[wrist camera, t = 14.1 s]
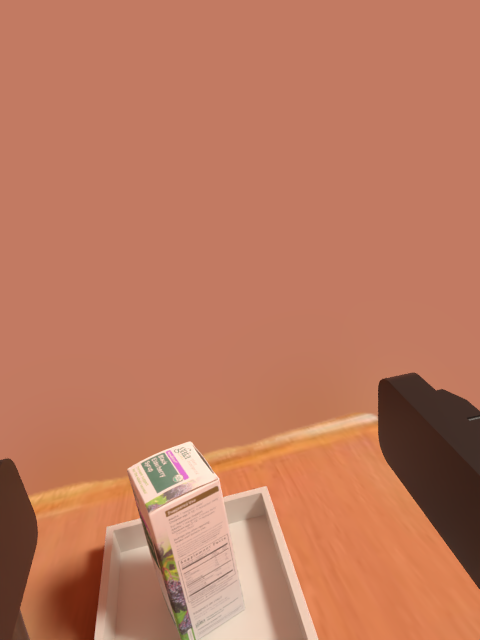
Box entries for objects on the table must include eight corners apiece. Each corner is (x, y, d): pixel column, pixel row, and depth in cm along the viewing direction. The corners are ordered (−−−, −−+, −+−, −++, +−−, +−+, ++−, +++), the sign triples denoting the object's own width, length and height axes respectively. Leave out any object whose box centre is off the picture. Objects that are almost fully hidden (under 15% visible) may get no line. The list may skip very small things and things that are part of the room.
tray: (99, 747, 32) (85, 717, 31) (115, 552, 47) (106, 526, 46) (324, 677, 34) (320, 646, 32) (270, 512, 49) (266, 485, 47)
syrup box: (161, 595, 41) (120, 468, 36) (219, 561, 43) (189, 436, 38) (185, 651, 36) (143, 514, 31) (249, 609, 39) (220, 474, 33)
